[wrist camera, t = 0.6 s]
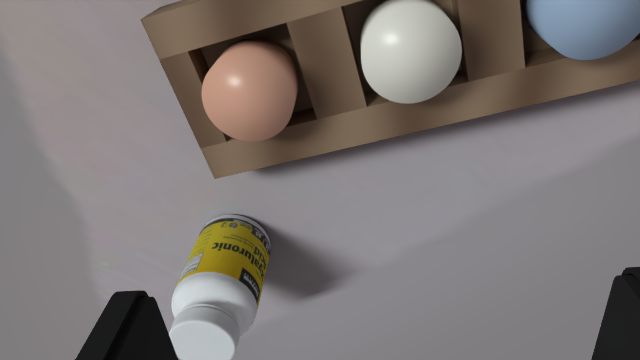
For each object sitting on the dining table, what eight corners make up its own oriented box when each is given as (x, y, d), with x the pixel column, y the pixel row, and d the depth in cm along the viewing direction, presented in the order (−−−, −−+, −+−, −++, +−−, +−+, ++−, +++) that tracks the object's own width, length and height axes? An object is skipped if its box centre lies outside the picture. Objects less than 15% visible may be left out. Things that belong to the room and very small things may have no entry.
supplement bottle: (286, 240, 36) (266, 346, 28) (243, 278, 38) (213, 388, 30) (227, 198, 34) (187, 298, 26) (186, 241, 37) (137, 346, 28)
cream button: (443, -19, 24) (453, -8, 22) (456, 70, 27) (467, 90, 24) (350, 8, 25) (350, 21, 23) (371, 92, 27) (373, 113, 25)
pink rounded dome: (283, 27, 26) (276, 42, 23) (309, 107, 28) (305, 130, 26) (202, 51, 27) (186, 68, 24) (234, 127, 29) (222, 150, 27)
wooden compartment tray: (654, -149, 23) (693, -154, 20) (644, 54, 27) (674, 71, 25) (160, 7, 28) (140, 19, 25) (225, 155, 32) (214, 178, 30)
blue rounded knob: (625, -72, 23) (660, -67, 20) (623, 28, 25) (654, 44, 22) (519, -41, 24) (539, -33, 21) (526, 53, 26) (545, 71, 23)
